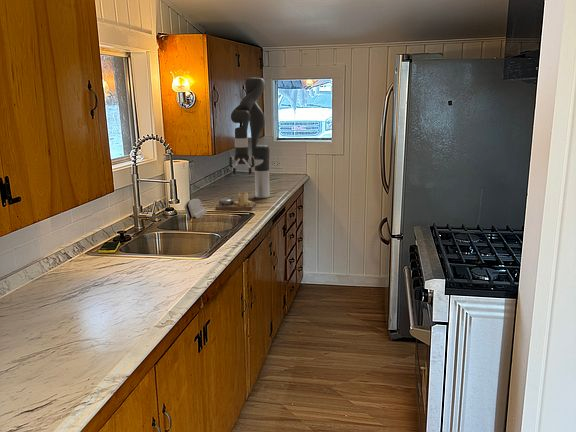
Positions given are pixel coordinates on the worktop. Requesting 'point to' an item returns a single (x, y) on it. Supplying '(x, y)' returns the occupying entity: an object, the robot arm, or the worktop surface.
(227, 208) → the carrier
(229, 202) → the sun gear
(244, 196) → the planet gear
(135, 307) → the worktop surface
